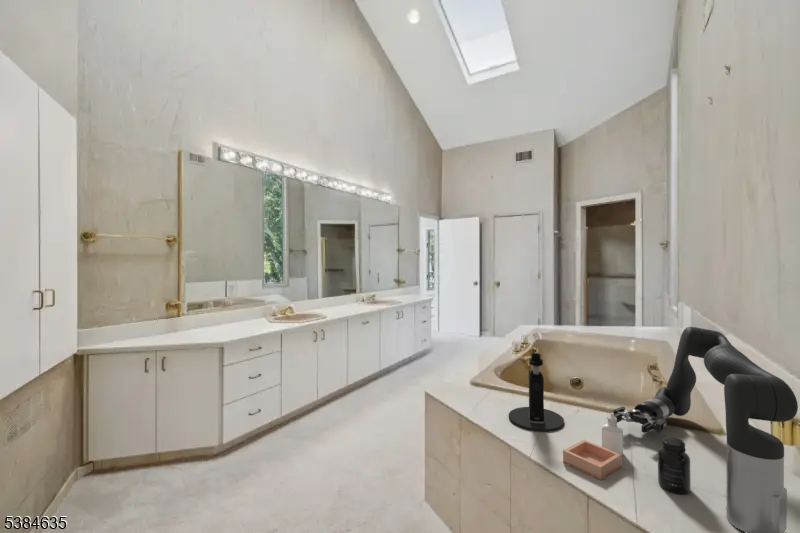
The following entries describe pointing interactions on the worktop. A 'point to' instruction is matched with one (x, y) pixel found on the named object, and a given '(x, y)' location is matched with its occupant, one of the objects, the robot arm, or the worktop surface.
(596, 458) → the tray
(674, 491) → the supplement bottle
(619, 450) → the eye dropper bottle
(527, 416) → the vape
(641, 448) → the worktop surface
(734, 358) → the robot arm
